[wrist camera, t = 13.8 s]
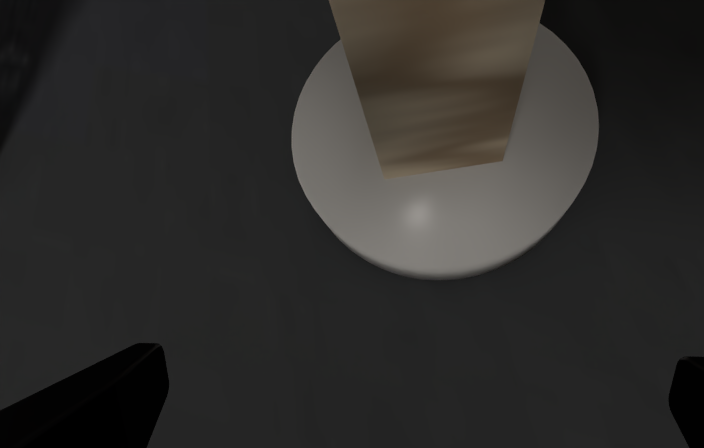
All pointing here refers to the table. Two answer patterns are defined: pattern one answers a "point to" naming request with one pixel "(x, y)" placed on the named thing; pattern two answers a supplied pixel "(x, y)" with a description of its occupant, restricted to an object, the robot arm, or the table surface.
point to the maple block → (438, 76)
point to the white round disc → (448, 173)
